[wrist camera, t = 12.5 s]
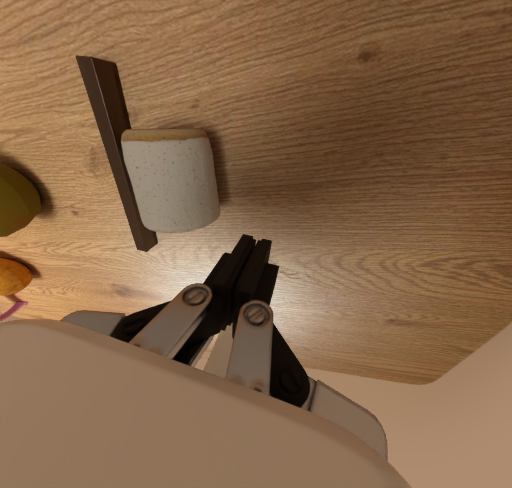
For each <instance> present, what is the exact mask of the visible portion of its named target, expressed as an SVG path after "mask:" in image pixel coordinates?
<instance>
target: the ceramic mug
mask: <svg viewBox="0 0 512 488" xmlns="http://www.w3.org/2000/svg"><path fill="white" fill-rule="evenodd" d="M121 144H122V150H123V156H124V161H125V165H126V168H127V171H128V174H129V177H130V180H131V183H132V187H133V191H134V194H135V198H136V202H137V205H138V209H139V213H140V217H141V220H142V222H143V224H144V226H145V227H146V228H148V229H149V230H152V231H156V232H162V233H182V232H189V231H193V230H196V229H200V228H203V227H205V226H207V225H209V224H211V223H212V222H214V221H215V220H217V218H218V217H219V215H220V206H219V199H218V191H217V184H216V177H215V171H214V160H213V154H212V149H211V146H210V141H209V138H208V136H207V134H206V133H205V132H204V131H203V130H202V129H127V130H125V131H124V132H123V134H122V136H121Z"/></svg>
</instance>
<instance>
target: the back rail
mask: <svg viewBox="0 0 512 488" xmlns="http://www.w3.org/2000/svg"><path fill="white" fill-rule="evenodd" d="M76 59H77V62H78V65H79V68H80V72H81V75H82V78H83V81H84V84H85V87H86V90H87V94H88V97H89V100H90V103H91V106H92V109H93V112H94V116H95V119H96V122H97V125H98V128H99V131H100V134H101V138H102V141H103V144H104V147H105V150H106V153H107V156H108V160H109V163H110V166H111V169H112V172H113V175H114V178H115V181H116V185H117V188H118V191H119V194H120V197H121V200H122V203H123V207H124V210H125V213H126V216H127V219H128V222H129V225H130V229H131V232H132V235H133V238H134V241H135V244H136V247H137V250H141V251H145V252H147V251H149V250H150V249H151V248H152V247H154V246H155V245H156V244H157V243H158V241H157V237H156V233H155V231H152V230H149V229H148V228H146V227H145V226H144V224H143V222H142V220H141V217H140V213H139V209H138V205H137V202H136V198H135V194H134V191H133V187H132V183H131V180H130V177H129V174H128V171H127V168H126V165H125V161H124V156H123V150H122V144H121V136H122V134H123V132H124V131H125V130H127V129H131V127H130V123H129V119H128V114H127V110H126V106H125V102H124V97H123V93H122V89H121V85H120V80H119V76H118V72H117V68H116V64H115V63H113V62H109V61H105V60H102V59H98V58H94V57H88V56H77V55H76Z"/></svg>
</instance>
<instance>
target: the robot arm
mask: <svg viewBox="0 0 512 488" xmlns="http://www.w3.org/2000/svg"><path fill="white" fill-rule="evenodd" d="M255 244H256V240H255V239H253V236H249V235H245V234H243V235H242V237H241V239H240V240H239V242H238V243H237V245H236V246H235V248H234V250H233V251H232V253H231V254H230V253H224V254H223V255H222V257H221V258H220V260H219V261H218V263H217V264H216V266H215V267H214V269H213V270H212V271H211V273H210V274H209V276H208V277H207V279H206V280H205V282H204V283H203V284H201V283H196V284H191V285H189V286H187V287H186V288H184V289H183V290H182V291H181V292H180V293H179V294H178V295H177V296H176V297H175V298H174V299H173V300H172V301H169V302H166V303H163V304H160V305H157V306H154V307H151V308H148V309H145V310H142V311H139V312H136V313H133V314H131V315H128V316H126V315H125V313H112V312H100V311H87V310H82V311H76V312H73V313H71V314H69V315H67V316H65V317H64V318H63V319H61V320H60V321H58V320H52V319H23V320H14V321H8V322H4V323H0V488H411V487H410V485H409V484H408V483H407V482H406V480H405V479H404V478H403V477H402V476H401V475H400V474H399V473H398V471H397V470H396V469H395V468H394V467H393V466H392V465H391V464H390V463H389V462H388V461H387V439H386V434H385V432H384V430H383V427H382V425H381V424H380V423H379V421H378V419H377V418H376V417H375V416H374V415H373V414H371V413H370V412H369V411H368V410H366V409H365V408H363V407H362V406H360V405H358V404H357V403H355V402H354V401H352V400H350V399H349V398H347V397H345V396H344V395H342V394H341V393H339V392H337V391H336V390H334V389H332V388H331V387H329V386H327V385H326V384H324V383H323V382H321V381H319V380H317V381H315V380H314V379H312V378H310V377H309V376H307V374H306V372H305V370H304V369H303V367H302V366H301V364H300V363H299V361H298V359H297V358H296V356H295V355H294V353H293V352H292V350H291V349H290V347H289V346H288V344H287V343H286V341H285V340H284V338H283V337H282V335H281V334H280V332H279V331H278V329H277V328H276V326H275V325H274V323H273V311H272V309H271V307H270V306H269V305H270V302H271V298H272V294H273V290H274V286H275V282H276V278H277V274H278V269H279V266H277V265H273V264H269V263H268V261H269V255H270V249H271V244H272V241H271V240H266V239H262V240H261V241H260V240H258V242H257V244H256V246H255ZM231 324H232V338H233V344H232V349H231V353H230V358H229V362H228V367H227V371H226V376H225V379H223V378H221V377H218V376H215V375H213V374H210V373H207V372H205V371H202V370H199V369H196V368H194V367H195V365H196V364H197V362H198V360H199V359H200V358H201V356H202V355H203V353H204V352H205V350H206V349H207V347H208V346H209V344H210V343H211V341H212V339H213V337H214V335H215V334H218V333H220V331H221V330H223V331H225V329H226V327H227V325H228V326H231Z"/></svg>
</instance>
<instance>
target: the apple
mask: <svg viewBox="0 0 512 488" xmlns="http://www.w3.org/2000/svg"><path fill="white" fill-rule="evenodd" d="M41 209H42V208H41V202H40V196H39V193H38V191H37V189H36V188H35V186H34V185H33V184H32V183H31V182H30V181H29V179H27V178H26V177H24V176H23V175H21V174H20V173H18V172H17V171H15V170H13V169H12V168H10V167H8V166H6V165H3V164H0V237H5V236H8V235H10V234H12V233H14V232H16V231H18V230H20V229H22V228H24V227H26V226H27V225H28V224H29V223H30V222H31V221H32V220H33V218H34V217H35V216H36V215H37V214H38V213H39V211H40V210H41Z"/></svg>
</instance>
